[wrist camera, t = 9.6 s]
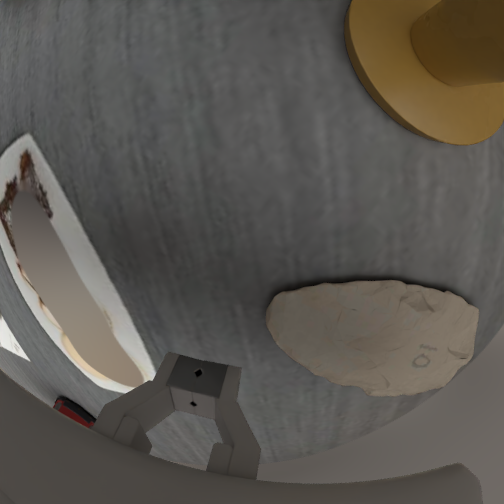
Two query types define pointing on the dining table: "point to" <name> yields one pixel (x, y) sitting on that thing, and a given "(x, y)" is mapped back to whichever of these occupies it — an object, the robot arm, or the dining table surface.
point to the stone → (375, 334)
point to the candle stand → (432, 64)
